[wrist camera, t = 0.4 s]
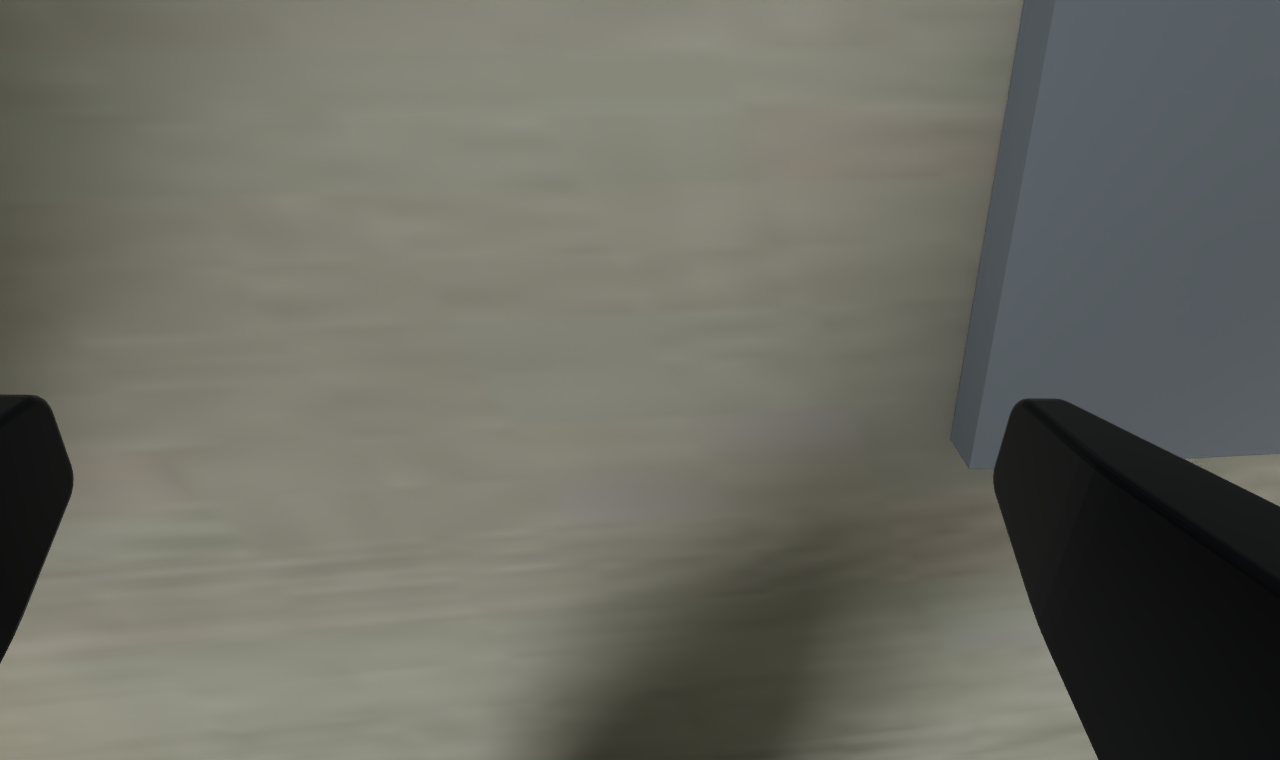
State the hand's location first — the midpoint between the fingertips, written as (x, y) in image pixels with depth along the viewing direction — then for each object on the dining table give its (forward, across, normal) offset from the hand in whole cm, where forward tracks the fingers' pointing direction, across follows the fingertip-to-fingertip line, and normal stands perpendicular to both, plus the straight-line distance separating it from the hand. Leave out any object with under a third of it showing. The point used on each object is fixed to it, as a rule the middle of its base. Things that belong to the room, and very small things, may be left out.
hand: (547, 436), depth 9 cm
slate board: (+14, -17, +4) cm, 22 cm away
